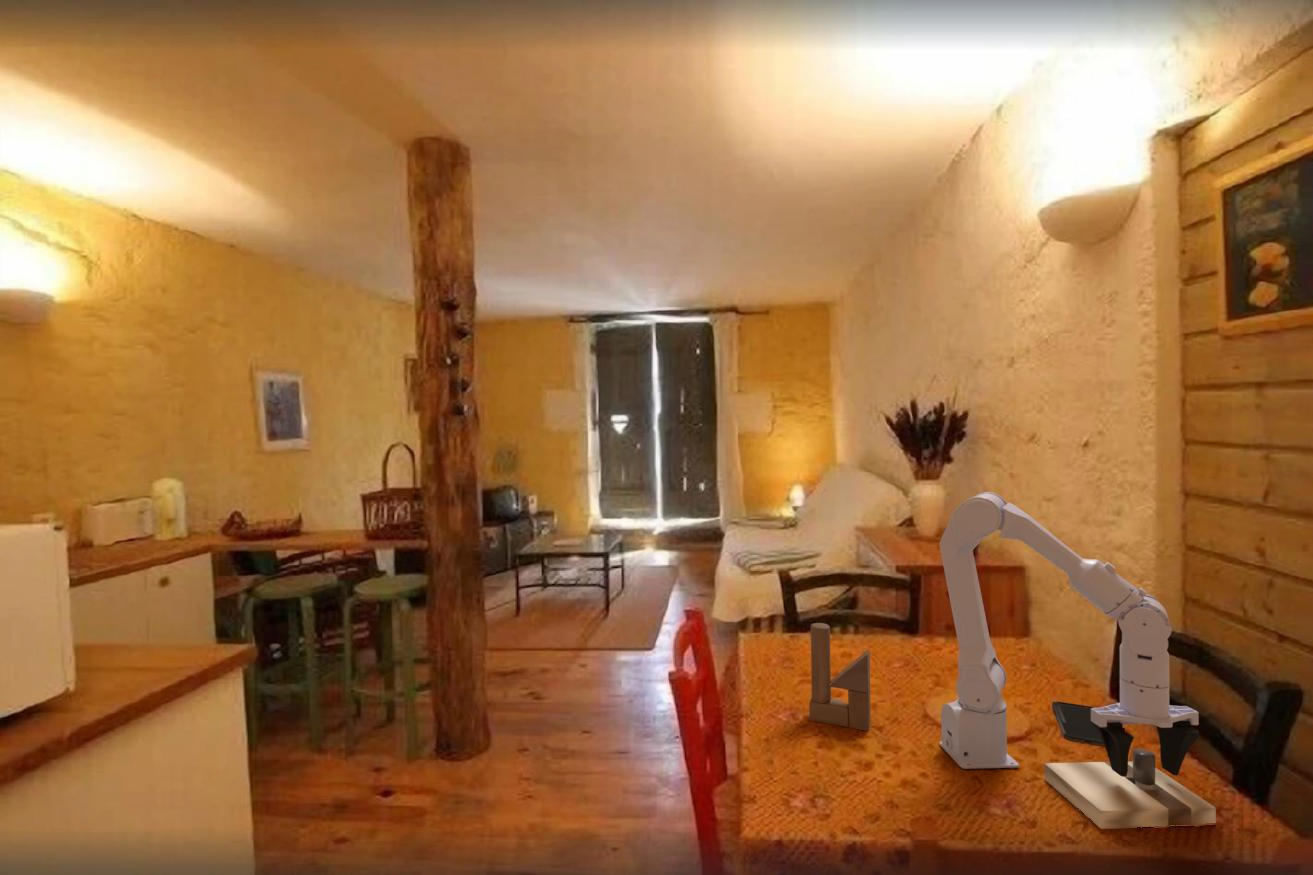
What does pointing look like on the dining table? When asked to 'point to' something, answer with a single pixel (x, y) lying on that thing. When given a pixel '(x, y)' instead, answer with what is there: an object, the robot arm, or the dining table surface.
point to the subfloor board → (1126, 797)
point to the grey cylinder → (1144, 769)
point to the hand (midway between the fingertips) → (1144, 772)
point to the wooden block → (838, 685)
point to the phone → (1076, 722)
